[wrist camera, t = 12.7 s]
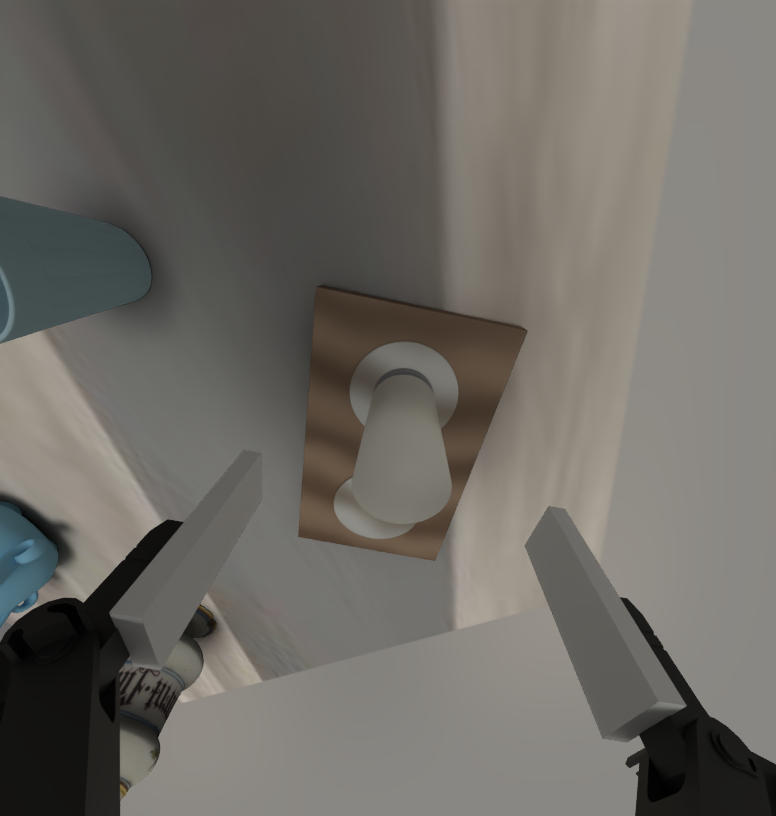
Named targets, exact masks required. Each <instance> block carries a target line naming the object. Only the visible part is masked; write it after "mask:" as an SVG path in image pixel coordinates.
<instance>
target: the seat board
mask: <svg viewBox="0 0 776 816" xmlns="http://www.w3.org/2000/svg"><path fill="white" fill-rule="evenodd" d="M526 334H527V330H526V329H524V328H522V327H520V326H515V325H511V324H506V323H501V322H496V321H491V320H486V319H482V318H477V317H472V316H467V315H462V314H457V313H453V312H448V311H443V310H438V309H433V308H428V307H424V306H419V305H414V304H409V303H404V302H399V301H395V300H390V299H385V298H380V297H375V296H370V295H366V294H361V293H356V292H351V291H346V290H341V289H337V288H332V287H327V286H322V285H321V286H318V287H316V296H315V310H314V324H313V338H312V352H311V366H310V380H309V394H308V408H307V422H306V436H305V450H304V465H303V479H302V493H301V507H300V521H299V535H298V537H302V538H308V539H314V540H319V541H325V542H331V543H336V544H342V545H348V546H353V547H359V548H365V549H370V550H376V551H382V552H387V553H393V554H399V555H404V556H410V557H416V558H421V559H427V560H433V561H435V560H436V557H437V555H438V552H439V550H440V547H441V545H442V542H443V540H444V537H445V535H446V532H447V530H448V527H449V525H450V522H451V520H452V517H453V515H454V512H455V510H456V507H457V505H458V503H459V500H460V498H461V495H462V493H463V490H464V488H465V485H466V483H467V480H468V478H469V475H470V473H471V470H472V468H473V465H474V463H475V460H476V458H477V455H478V453H479V450H480V448H481V445H482V443H483V441H484V438H485V436H486V433H487V431H488V428H489V426H490V423H491V421H492V418H493V416H494V413H495V411H496V408H497V406H498V403H499V401H500V398H501V396H502V393H503V391H504V388H505V386H506V383H507V381H508V378H509V376H510V374H511V371H512V369H513V366H514V364H515V361H516V359H517V356H518V354H519V351H520V349H521V346H522V344H523V341H524V339H525V336H526ZM398 368H409V369H413V370H416V371H418V372H420V373H421V374H423V375H424V376H425V377H426V378H427V379H428V380H429V382H430V383H431V385H432V388H433V392H434V397H435V402H436V407H437V412H438V417H439V422H440V427H441V432H442V437H443V442H444V447H445V452H446V457H447V462H448V467H449V472H450V477H451V482H452V491H451V495H450V498H449V500H448V502H447V504H446V505H445V506H444V508H443V509H442V510H441V511H440V512H438V513H437V514H436V515H434V516H433V517H431V518H429V519H427V520H424V521H421V522H417V523H411V524H395V523H389V522H385V521H382V520H379V519H377V518H375V517H373V516H372V515H370V514H368V513H367V512H366V511H365V510H364V509H363V508H361V506H360V505H359V504H358V503H357V501H356V499H355V497H354V495H353V491H352V477H353V473H354V469H355V465H356V461H357V457H358V453H359V449H360V445H361V441H362V436H363V432H364V428H365V424H366V420H367V416H368V412H369V408H370V404H371V400H372V396H373V392H374V388H375V385H376V383H377V382H378V380H379V379H380V378H381V377H382V376H383V375H384V374H385V373H387V372H389V371H391V370H394V369H398Z"/></svg>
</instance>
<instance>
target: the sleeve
mask: <svg viewBox="0 0 776 816" xmlns="http://www.w3.org/2000/svg"><path fill="white" fill-rule="evenodd" d="M352 491H353V495H354V497H355V499H356V501H357V503H358V504H359V505H360V506H361V508H363V509H364V510H365V511H366V512H367V513H368V514H370V515H372V516H373V517H375V518H377V519H379V520H382V521H385V522H389V523H395V524H411V523H417V522H421V521H424V520H427V519H429V518H431V517H433V516H434V515H436V514H437V513H438V512H440V511H441V510H442V509H443V508H444V506H445V505H446V504H447V502H448V500H449V498H450V495H451V491H452V482H451V477H450V472H449V467H448V462H447V457H446V452H445V447H444V442H443V437H442V432H441V427H440V422H439V417H438V412H437V407H436V402H435V397H434V392H433V388H432V385H431V383H430V382H429V380H428V379H427V378H426V377H425V376H424V375H423V374H421V373H420V372H418V371H416V370H413V369H409V368H398V369H394V370H391V371H389V372H387V373H385V374H384V375H383V376H382V377H381V378H380V379H379V380H378V382H377V383H376V385H375V388H374V392H373V396H372V400H371V404H370V408H369V412H368V416H367V420H366V424H365V428H364V432H363V436H362V441H361V445H360V449H359V453H358V457H357V461H356V465H355V469H354V473H353V477H352Z"/></svg>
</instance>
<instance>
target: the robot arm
mask: <svg viewBox="0 0 776 816" xmlns="http://www.w3.org/2000/svg"><path fill="white" fill-rule="evenodd" d="M261 500H262V465H261V453H258V452H252V451H247V450H243V452H242V453H241V454H240V455H239V456H238V458H237V459H236V460H235V461H234V462H233V464H232V465H231V466H230V467H229V468H228V470H227V471H226V472H225V473H224V475H223V476H222V477H221V478H220V479H219V481H218V482H217V483H216V484H215V485H214V487H213V488H212V489H211V490H210V491H209V493H208V494H207V495H206V496H205V497H204V499H203V500H202V501H201V502H200V503H199V505H198V506H197V507H196V508H195V510H194V511H193V512H192V513H191V514H190V516H189V517H188V518H187V519H186V520H185V522H180V521H174V520H168V519H167V520H166V521H164V522H163V523H161V524H160V525H158V526H157V527H155V528H154V529H152V530H151V531H150V532H149V533H148V534H147V535H146V536H145V537H144V538H143V539H142V540H141V541H140V542H139V543H138V544H137V547H136V548H134V549H133V550H132V551H131V552H130V553H129V554H128V555H127V556H126V559H125V560H123V561H122V562H121V563H120V564H119V565H118V566H117V567H116V568H115V569H114V570H113V572H112V573H111V574H110V575H109V576H108V577H107V578H106V579H105V580H104V581H103V582H102V583H101V584H100V586H99V587H98V588H97V589H96V590H95V591H94V592H93V593H92V594H91V595H90V596H89V597H88V599H87V600H86V601H85V602H84V603H83V602H81V601H80V600H78V599H76V598H61V599H57V600H53V601H49V602H47V603H45V604H43V605H41V606H39V607H37V608H35V609H33V610H31V611H30V612H28V613H27V614H26V615H24V616H23V617H21V618H20V619H19V620H17V621H16V622H15V623H14V625H13V626H12V627H11V628H10V629H9V630H8V631H7V632H6V633H5V635H4V636H3V638H2V640H1V642H0V816H120V675H119V671H120V669H121V668H122V667H123V665H124V664H125V662H126V661H127V659H128V658H129V657H130V659H131V661H132V664H133V666H137V667H143V668H150V669H156V670H161V669H162V668H163V666H164V664H165V663H166V661H167V659H168V657H169V656H170V654H171V652H172V651H173V649H174V647H175V646H176V644H177V642H178V640H179V639H180V637H181V635H182V634H183V632H184V630H185V629H186V627H187V625H188V624H189V622H190V620H191V618H192V617H193V615H194V613H195V612H196V610H197V608H198V607H199V605H200V603H201V601H202V600H203V598H204V596H205V595H206V593H207V591H208V590H209V588H210V586H211V585H212V583H213V581H214V579H215V578H216V576H217V574H218V573H219V571H220V569H221V568H222V566H223V564H224V562H225V561H226V559H227V557H228V556H229V554H230V552H231V551H232V549H233V547H234V545H235V544H236V542H237V540H238V539H239V537H240V535H241V534H242V532H243V530H244V529H245V527H246V525H247V523H248V522H249V520H250V518H251V517H252V515H253V513H254V512H255V510H256V508H257V506H258V505H259V503H260V501H261ZM525 548H526V550H527V553H528V555H529V558H530V560H531V562H532V565H533V567H534V570H535V572H536V575H537V577H538V580H539V582H540V585H541V587H542V590H543V592H544V595H545V597H546V600H547V602H548V605H549V607H550V610H551V612H552V614H553V617H554V619H555V622H556V624H557V627H558V629H559V632H560V634H561V637H562V639H563V642H564V644H565V646H566V649H567V651H568V654H569V657H570V659H571V662H572V664H573V666H574V669H575V671H576V674H577V676H578V679H579V681H580V684H581V686H582V689H583V691H584V694H585V696H586V698H587V701H588V704H589V706H590V708H591V711H592V713H593V716H594V718H595V721H596V723H597V726H598V728H599V731H600V733H601V736H602V738H603V739H608V740H614V741H621V742H629V741H630V740H632V739H633V738H635V737H637V736H638V735H639V736H640V738H641V740H642V742H643V744H644V746H645V748H644V749H642V750H640V751H638V752H637V753H635V754H633V755H632V756H630V757H628V758H627V761H626V765H627V766H628V767H629V768H631V767H632V766H634V765H636V764H638V763H639V771H638V772H637V773H636V775H637V776H638V789H637V801H636V813H635V816H776V764H774V763H772V762H770V761H768V760H766V759H764V758H763V757H761V756H759V755H757V754H755V753H753V752H751V751H750V750H749V749H748V748H747V746H746V745H745V744H744V743H743V742H742V741H741V739H740V738H739V737H738V736H737V735H735V733H734V732H732V731H731V730H730V729H729V728H728V727H727V726H726V725H724V724H722V723H721V722H719V721H718V720H716V719H715V718H712V717H710V716H709V715H708V714H707V712H706V711H705V709H704V708H703V707H702V705H701V704H700V702H699V701H698V699H697V698H696V696H695V694H694V693H693V691H692V690H691V688H690V687H689V685H688V684H687V682H686V681H685V679H684V678H683V676H682V674H681V673H680V671H679V670H678V669H677V667H676V665H675V664H674V662H673V661H672V659H671V658H670V656H669V655H668V653H667V651H665V650H664V649H663V645H662V644H661V642H660V641H659V639H658V638H657V636H655V635H654V632H653V630H652V629H651V627H650V626H649V624H648V622H647V621H646V619H645V618H644V616H643V615H642V614H641V613H640V611H638V609H637V608H636V607H635V606H634V605H633V604H632V603H631V602H630V601H629V600H628V599H627V598H621V597H619V596H618V594H617V592H616V591H615V589H614V588H613V586H612V584H611V583H610V581H609V579H608V578H607V576H606V575H605V573H604V571H603V570H602V568H601V567H600V565H599V563H598V562H597V560H596V558H595V557H594V555H593V554H592V552H591V550H590V549H589V547H588V546H587V544H586V542H585V541H584V539H583V537H582V536H581V534H580V533H579V531H578V529H577V528H576V526H575V525H574V523H573V521H572V520H571V518H570V516H569V515H568V513H567V512H566V510H565V509H562V508H557V507H551V506H549V507H548V508H547V510H546V511H545V513H544V515H543V516H542V518H541V520H540V521H539V523H538V524H537V526H536V528H535V529H534V531H533V533H532V534H531V536H530V538H529V539H528V541H527V542H526V544H525Z"/></svg>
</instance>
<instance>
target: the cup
mask: <svg viewBox="0 0 776 816" xmlns="http://www.w3.org/2000/svg"><path fill="white" fill-rule="evenodd" d="M151 280H152V275H151V268H150V264H149V261H148V259H147V257H146V255H145V253H144V251H143V250H142V248H141V247H140V245H139V244H138V243H137V242H136V241H135V240H134V239H133V238H132V237H131V236H130V235H129V234H128V233H127V232H125V231H124V230H122V229H120V228H118V227H116V226H114V225H112V224H109V223H106V222H102V221H98V220H95V219H91V218H87V217H82V216H78V215H74V214H70V213H66V212H62V211H58V210H54V209H50V208H46V207H42V206H38V205H34V204H30V203H26V202H22V201H18V200H14V199H10V198H6V197H1V196H0V343H4V342H7V341H10V340H13V339H16V338H19V337H23V336H26V335H29V334H32V333H35V332H38V331H41V330H44V329H47V328H51V327H54V326H57V325H60V324H63V323H66V322H70V321H73V320H76V319H79V318H82V317H85V316H89V315H92V314H95V313H98V312H101V311H105V310H108V309H111V308H114V307H117V306H120V305H124V304H127V303H130V302H133V301H136V300H138V299H140V298H141V297H143V296H144V295H145V294H146V293H147V292H148V290H149V288H150V285H151Z"/></svg>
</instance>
